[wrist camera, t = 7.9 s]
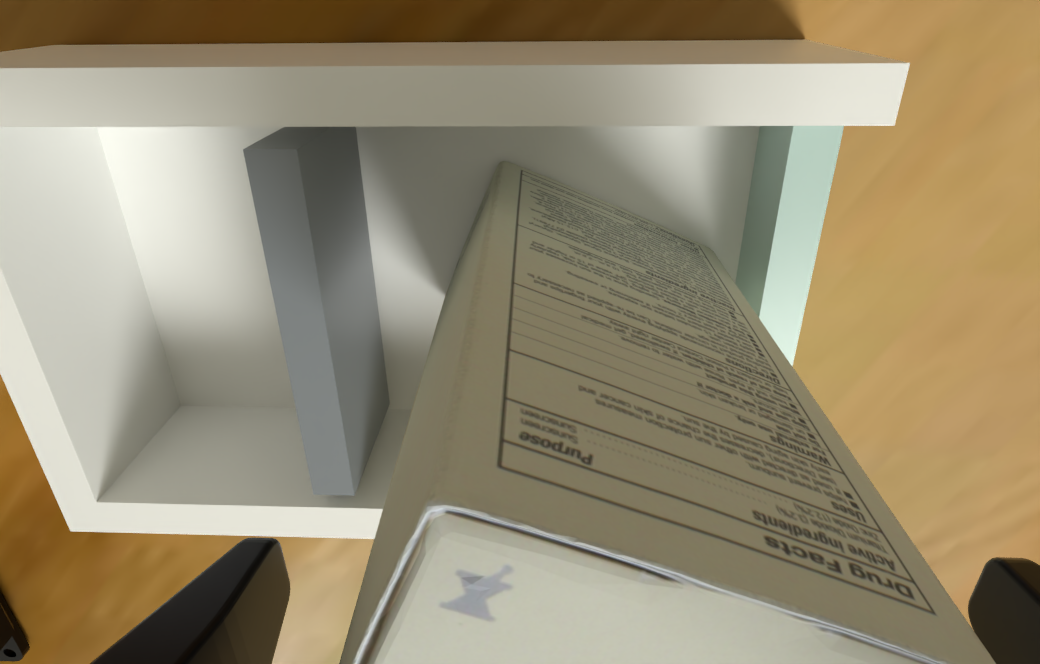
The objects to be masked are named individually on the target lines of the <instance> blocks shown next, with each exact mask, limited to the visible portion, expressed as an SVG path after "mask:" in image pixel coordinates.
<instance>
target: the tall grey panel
mask: <svg viewBox="0 0 1040 664" xmlns="http://www.w3.org/2000/svg"><path fill="white" fill-rule="evenodd" d="M243 153H244V157H245V162H246V167H247V172H248V177H249V182H250V187H251V192H252V197H253V201H254V206H255V211H256V216H257V221H258V226H259V231H260V236H261V241H262V246H263V250H264V255H265V260H266V265H267V270H268V275H269V280H270V285H271V290H272V294H273V299H274V304H275V309H276V314H277V319H278V324H279V329H280V334H281V338H282V343H283V348H284V353H285V358H286V363H287V368H288V373H289V378H290V383H291V387H292V392H293V397H294V402H295V407H296V412H297V417H298V422H299V427H300V431H301V436H302V441H303V446H304V451H305V456H306V461H307V466H308V471H309V475H310V480H311V485H312V490H313V495H349V496H355V493H356V490H357V488H358V485H359V483H360V480H361V477H362V475H363V472H364V470H365V467H366V464H367V462H368V459H369V457H370V454H371V451H372V449H373V446H374V444H375V441H376V438H377V436H378V433H379V431H380V428H381V425H382V423H383V420H384V418H385V415H386V412H387V410H388V407H389V405H390V401H389V393H388V385H387V377H386V369H385V361H384V352H383V344H382V336H381V328H380V320H379V312H378V304H377V296H376V287H375V279H374V271H373V263H372V255H371V247H370V239H369V231H368V222H367V214H366V206H365V198H364V190H363V182H362V174H361V166H360V157H359V149H358V141H357V133H356V127H283V128H281V129H279V130H278V131H276V132H274V133H272V134H270V135H268V136H267V137H265V138H263V139H261V140H259V141H257V142H255V143H254V144H252V145H250V146H248V147H246V148H244V149H243Z"/></svg>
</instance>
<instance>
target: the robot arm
mask: <svg viewBox="0 0 1040 664" xmlns="http://www.w3.org/2000/svg"><path fill="white" fill-rule="evenodd" d="M289 595H290V581H289V577H288V573H287V569H286V565H285V561H284V557H283V552H282V548H281V545H280V543H279V542H278V541H277V540H276V539H273V538H246V539H244V540H242V541H241V542H239V543H238V544H237V545H236V546H234V547H233V548H232V549H231V550H229V551H228V552H227V553H226V554H224V555H223V556H222V557H221V558H220V559H218V560H217V561H216V562H215V563H213V564H212V565H211V566H210V567H208V568H207V569H206V570H205V571H204V572H202V573H201V574H200V575H199V576H197V577H196V578H195V579H194V580H192V581H191V582H190V583H189V584H187V585H186V586H185V587H184V588H183V589H181V590H180V591H179V592H178V593H176V594H175V595H174V596H173V597H171V598H170V599H169V600H168V601H167V602H165V603H164V604H163V605H162V606H160V607H159V608H158V609H157V610H155V611H154V612H153V613H152V614H150V615H149V616H148V617H147V618H146V619H144V620H143V621H142V622H141V623H139V624H138V625H137V626H136V627H134V628H133V629H132V630H131V631H130V632H128V633H127V634H126V635H125V636H123V637H122V638H121V639H120V640H118V641H117V642H116V643H115V644H113V645H112V646H111V647H110V648H109V649H107V650H106V651H105V652H104V653H102V654H101V655H100V656H99V657H97V658H96V659H95V660H94V661H93V662H91V663H90V664H272V660H273V657H274V653H275V649H276V646H277V642H278V638H279V634H280V631H281V627H282V623H283V620H284V616H285V612H286V609H287V605H288V601H289ZM968 614H969V619H970V622H971V625H972V628H973V630H974V632H975V634H976V635H977V637H978V638H979V640H980V641H981V642H982V644H983V645H984V647H985V648H986V650H987V651H988V653H989V654H990V656H991V657H992V659H993V660H994V662H995V663H996V664H1040V565H1038V564H1036V563H1035V562H1033V561H1031V560H1028V559H1024V558H998V557H996V558H992V559H991V560H989V561H988V562H987V563H986V564H985V566H984V568H983V571H982V573H981V575H980V577H979V580H978V582H977V584H976V586H975V589H974V591H973V593H972V595H971V597H970V600H969V605H968ZM29 648H30V647H29V644H28V642H27V640H26V638H25V637H24V635H23V633H22V631H21V629H20V627H19V626H18V624H17V622H16V620H15V618H14V616H13V615H12V613H11V611H10V609H9V607H8V605H7V604H6V602H5V600H4V598H3V596H2V594H1V593H0V661H19V660H21V659H22V658H23V657H24V656H25V654H26V653H27V652H28V650H29Z"/></svg>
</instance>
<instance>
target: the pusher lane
mask: <svg viewBox="0 0 1040 664" xmlns="http://www.w3.org/2000/svg"><path fill="white" fill-rule="evenodd" d="M909 65H910V63H907V62H903V61H898V60H894V59H890V58H885V57H881V56H876V55H872V54H868V53H863V52H859V51H854V50H850V49H846V48H841V47H837V46H832V45H828V44H824V43H819V42H815V41H810V40H683V41H543V42H403V43H262V44H122V45H50V46H42V47H34V48H26V49H18V50H10V51H3V52H0V374H1V376H2V378H3V381H4V383H5V385H6V387H7V390H8V392H9V394H10V396H11V399H12V401H13V403H14V405H15V408H16V410H17V412H18V414H19V417H20V419H21V421H22V423H23V426H24V428H25V430H26V432H27V435H28V437H29V439H30V441H31V444H32V446H33V448H34V450H35V453H36V455H37V457H38V459H39V462H40V464H41V466H42V468H43V471H44V473H45V475H46V477H47V480H48V482H49V484H50V486H51V489H52V491H53V493H54V495H55V498H56V500H57V502H58V504H59V507H60V509H61V511H62V513H63V516H64V518H65V520H66V522H67V525H68V527H69V529H70V531H80V532H119V533H159V534H199V535H239V536H279V537H319V538H359V539H375V535H376V532H377V528H378V525H379V521H380V518H381V514H382V511H383V508H384V504H385V501H386V497H387V493H388V489H389V486H390V483H391V479H392V476H393V472H394V469H395V466H396V462H397V459H398V456H399V452H400V449H401V445H402V441H403V438H404V435H405V431H406V428H407V425H408V421H409V418H410V414H411V411H412V407H413V403H414V400H415V396H416V393H417V390H418V386H419V383H420V380H421V377H422V374H423V370H424V367H425V363H426V360H427V357H428V353H429V350H430V346H431V343H432V339H433V336H434V332H435V329H436V325H437V322H438V319H439V315H440V312H441V309H442V305H443V302H444V298H445V295H446V293H447V290H448V287H449V284H450V281H451V279H452V276H453V273H454V270H455V268H456V265H457V262H458V260H459V257H460V254H461V252H462V249H463V247H464V244H465V242H466V239H467V237H468V234H469V232H470V229H471V227H472V224H473V222H474V219H475V217H476V214H477V212H478V210H479V207H480V205H481V202H482V200H483V198H484V195H485V193H486V191H487V188H488V186H489V184H490V181H491V179H492V177H493V174H494V172H495V170H496V168H497V166H498V164H499V163H500V162H502V161H507V162H510V163H513V164H516V165H518V166H520V167H523V168H525V169H528V170H530V171H533V172H536V173H538V174H541V175H543V176H546V177H548V178H551V179H553V180H556V181H558V182H560V183H563V184H565V185H568V186H570V187H572V188H575V189H577V190H580V191H582V192H585V193H587V194H589V195H591V196H594V197H596V198H598V199H601V200H603V201H605V202H608V203H610V204H612V205H615V206H617V207H620V208H622V209H624V210H626V211H629V212H631V213H633V214H635V215H638V216H640V217H642V218H645V219H647V220H649V221H651V222H654V223H656V224H658V225H661V226H663V227H665V228H667V229H669V230H672V231H674V232H676V233H678V234H680V235H682V236H685V237H687V238H689V239H691V240H693V241H696V242H698V243H700V244H702V245H704V246H706V247H708V248H710V249H711V250H712V251H714V253H715V254H716V256H717V257H718V259H719V260H720V262H721V263H722V265H723V266H724V268H725V269H726V271H727V272H728V274H729V275H730V276H731V278H732V279H733V281H734V282H735V284H736V285H737V287H738V288H739V290H740V291H741V293H742V294H743V296H744V297H745V299H746V300H747V302H748V303H749V304H750V306H751V307H752V309H753V310H754V312H755V313H756V314H757V316H758V317H759V319H760V320H761V322H762V323H763V325H764V326H765V328H766V329H767V331H768V332H769V334H770V335H771V337H772V338H773V339H774V341H775V342H776V344H777V345H778V347H779V348H780V350H781V351H782V353H783V354H784V355H785V357H786V358H787V360H788V361H789V363H790V364H791V366H793V361H794V357H795V352H796V347H797V343H798V338H799V333H800V329H801V324H802V319H803V315H804V310H805V305H806V301H807V296H808V291H809V287H810V282H811V277H812V273H813V268H814V263H815V259H816V254H817V249H818V245H819V240H820V235H821V231H822V226H823V221H824V217H825V212H826V208H827V203H828V198H829V194H830V189H831V184H832V180H833V175H834V170H835V166H836V161H837V156H838V152H839V147H840V142H841V138H842V133H843V128H844V126H894V125H895V121H896V117H897V113H898V109H899V105H900V101H901V97H902V93H903V89H904V85H905V81H906V77H907V73H908V69H909ZM283 127H356V133H357V141H358V149H359V157H360V166H361V174H362V182H363V190H364V198H365V206H366V214H367V222H368V231H369V239H370V247H371V255H372V263H373V271H374V279H375V287H376V296H377V304H378V312H379V320H380V328H381V336H382V344H383V352H384V361H385V369H386V377H387V385H388V393H389V401H390V405H389V407H388V410H387V412H386V415H385V418H384V420H383V423H382V425H381V428H380V431H379V433H378V436H377V438H376V441H375V444H374V446H373V449H372V451H371V454H370V457H369V459H368V462H367V464H366V467H365V470H364V472H363V475H362V477H361V480H360V483H359V485H358V488H357V490H356V493H355V496H349V495H313V490H312V485H311V480H310V475H309V471H308V466H307V461H306V456H305V451H304V446H303V441H302V436H301V431H300V427H299V422H298V417H297V412H296V407H295V402H294V397H293V392H292V387H291V383H290V378H289V373H288V368H287V363H286V358H285V353H284V348H283V343H282V338H281V334H280V329H279V324H278V319H277V314H276V309H275V304H274V299H273V294H272V290H271V285H270V280H269V275H268V270H267V265H266V260H265V255H264V250H263V246H262V241H261V236H260V231H259V226H258V221H257V216H256V211H255V206H254V201H253V197H252V192H251V187H250V182H249V177H248V172H247V167H246V162H245V157H244V153H243V149H244V148H246V147H248V146H250V145H252V144H254V143H255V142H257V141H259V140H261V139H263V138H265V137H267V136H268V135H270V134H272V133H274V132H276V131H278V130H279V129H281V128H283Z"/></svg>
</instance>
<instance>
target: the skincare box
mask: <svg viewBox="0 0 1040 664" xmlns="http://www.w3.org/2000/svg"><path fill="white" fill-rule="evenodd" d="M339 664H996V663H995V662H994V660H993V659H992V657H991V656H990V654H989V653H988V651H987V650H986V648H985V647H984V645H983V644H982V642H981V641H980V640H979V638H978V637H977V635H976V634H975V632H974V631H973V630H972V628H971V627H970V625H969V624H968V622H967V621H966V619H965V618H964V617H963V615H962V614H961V612H960V611H959V609H958V608H957V606H956V605H955V604H954V602H953V601H952V599H951V598H950V596H949V595H948V593H947V592H946V591H945V589H944V588H943V586H942V585H941V583H940V582H939V580H938V579H937V577H936V576H935V574H934V573H933V571H932V570H931V568H930V567H929V565H928V564H927V562H926V561H925V559H924V558H923V557H922V555H921V554H920V552H919V551H918V549H917V548H916V546H915V545H914V544H913V542H912V541H911V539H910V538H909V536H908V535H907V533H906V532H905V530H904V529H903V528H902V526H901V525H900V523H899V522H898V520H897V519H896V517H895V516H894V514H893V513H892V512H891V510H890V509H889V507H888V506H887V504H886V503H885V501H884V500H883V499H882V497H881V496H880V494H879V493H878V491H877V490H876V488H875V487H874V485H873V484H872V483H871V481H870V480H869V478H868V477H867V475H866V474H865V472H864V471H863V469H862V468H861V466H860V465H859V463H858V462H857V461H856V459H855V458H854V456H853V455H852V453H851V452H850V450H849V449H848V447H847V446H846V444H845V443H844V441H843V440H842V438H841V437H840V436H839V434H838V433H837V431H836V430H835V428H834V427H833V425H832V424H831V422H830V421H829V419H828V418H827V417H826V415H825V414H824V412H823V411H822V409H821V408H820V406H819V405H818V404H817V402H816V401H815V399H814V398H813V396H812V395H811V393H810V392H809V391H808V389H807V388H806V386H805V385H804V383H803V382H802V380H801V379H800V377H799V376H798V374H797V373H796V371H795V370H794V369H793V367H792V366H791V364H790V363H789V361H788V360H787V358H786V357H785V355H784V354H783V353H782V351H781V350H780V348H779V347H778V345H777V344H776V342H775V341H774V339H773V338H772V337H771V335H770V334H769V332H768V331H767V329H766V328H765V326H764V325H763V323H762V322H761V320H760V319H759V317H758V316H757V314H756V313H755V312H754V310H753V309H752V307H751V306H750V304H749V303H748V302H747V300H746V299H745V297H744V296H743V294H742V293H741V291H740V290H739V288H738V287H737V285H736V284H735V282H734V281H733V279H732V278H731V276H730V275H729V274H728V272H727V271H726V269H725V268H724V266H723V265H722V263H721V262H720V260H719V259H718V257H717V256H716V254H715V253H714V251H712V250H711V249H710V248H708V247H706V246H704V245H702V244H700V243H698V242H696V241H693V240H691V239H689V238H687V237H685V236H682V235H680V234H678V233H676V232H674V231H672V230H669V229H667V228H665V227H663V226H661V225H658V224H656V223H654V222H651V221H649V220H647V219H645V218H642V217H640V216H638V215H635V214H633V213H631V212H629V211H626V210H624V209H622V208H620V207H617V206H615V205H612V204H610V203H608V202H605V201H603V200H601V199H598V198H596V197H594V196H591V195H589V194H587V193H585V192H582V191H580V190H577V189H575V188H572V187H570V186H568V185H565V184H563V183H560V182H558V181H556V180H553V179H551V178H548V177H546V176H543V175H541V174H538V173H536V172H533V171H530V170H528V169H525V168H523V167H520V166H518V165H516V164H513V163H510V162H507V161H502V162H500V163H499V164H498V166H497V168H496V170H495V172H494V174H493V177H492V179H491V181H490V184H489V186H488V188H487V191H486V193H485V195H484V198H483V200H482V202H481V205H480V207H479V210H478V212H477V214H476V217H475V219H474V222H473V224H472V227H471V229H470V232H469V234H468V237H467V239H466V242H465V244H464V247H463V249H462V252H461V254H460V257H459V260H458V262H457V265H456V268H455V270H454V273H453V276H452V279H451V281H450V284H449V287H448V290H447V293H446V295H445V298H444V302H443V305H442V309H441V312H440V315H439V319H438V322H437V325H436V329H435V332H434V336H433V339H432V343H431V346H430V350H429V353H428V357H427V360H426V363H425V367H424V370H423V374H422V377H421V380H420V383H419V386H418V390H417V393H416V396H415V400H414V403H413V407H412V411H411V414H410V418H409V421H408V425H407V428H406V431H405V435H404V438H403V441H402V445H401V449H400V452H399V456H398V459H397V462H396V466H395V469H394V472H393V476H392V479H391V483H390V486H389V489H388V493H387V497H386V501H385V504H384V508H383V511H382V514H381V518H380V521H379V525H378V528H377V532H376V535H375V539H374V542H373V546H372V549H371V553H370V556H369V560H368V564H367V567H366V571H365V575H364V578H363V582H362V585H361V589H360V593H359V596H358V599H357V603H356V606H355V610H354V613H353V617H352V620H351V624H350V628H349V631H348V635H347V638H346V642H345V645H344V649H343V652H342V656H341V660H340V663H339Z"/></svg>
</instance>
